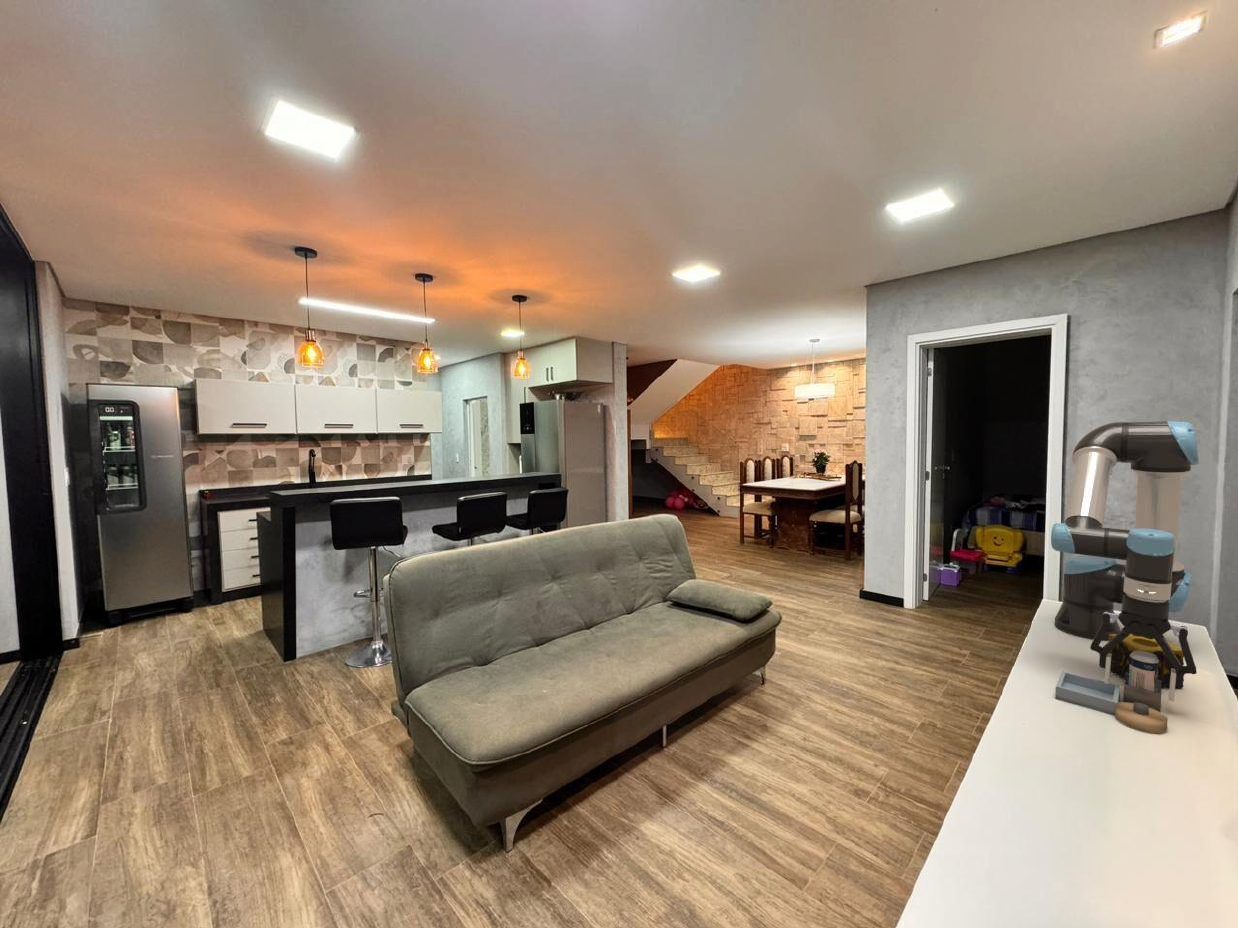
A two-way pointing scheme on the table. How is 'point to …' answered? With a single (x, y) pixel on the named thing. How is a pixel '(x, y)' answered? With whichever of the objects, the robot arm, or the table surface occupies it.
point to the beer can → (1143, 670)
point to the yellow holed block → (1133, 643)
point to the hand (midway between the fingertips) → (1138, 689)
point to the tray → (1088, 692)
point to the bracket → (1142, 695)
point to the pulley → (1141, 717)
